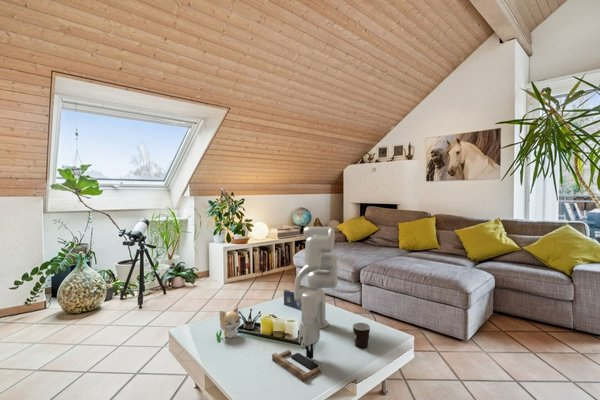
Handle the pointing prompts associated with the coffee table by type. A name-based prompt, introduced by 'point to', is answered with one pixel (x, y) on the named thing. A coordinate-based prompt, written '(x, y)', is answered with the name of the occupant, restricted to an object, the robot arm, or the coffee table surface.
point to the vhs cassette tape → (291, 300)
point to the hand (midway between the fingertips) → (309, 357)
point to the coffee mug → (361, 335)
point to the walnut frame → (293, 366)
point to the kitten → (229, 323)
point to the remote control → (304, 361)
